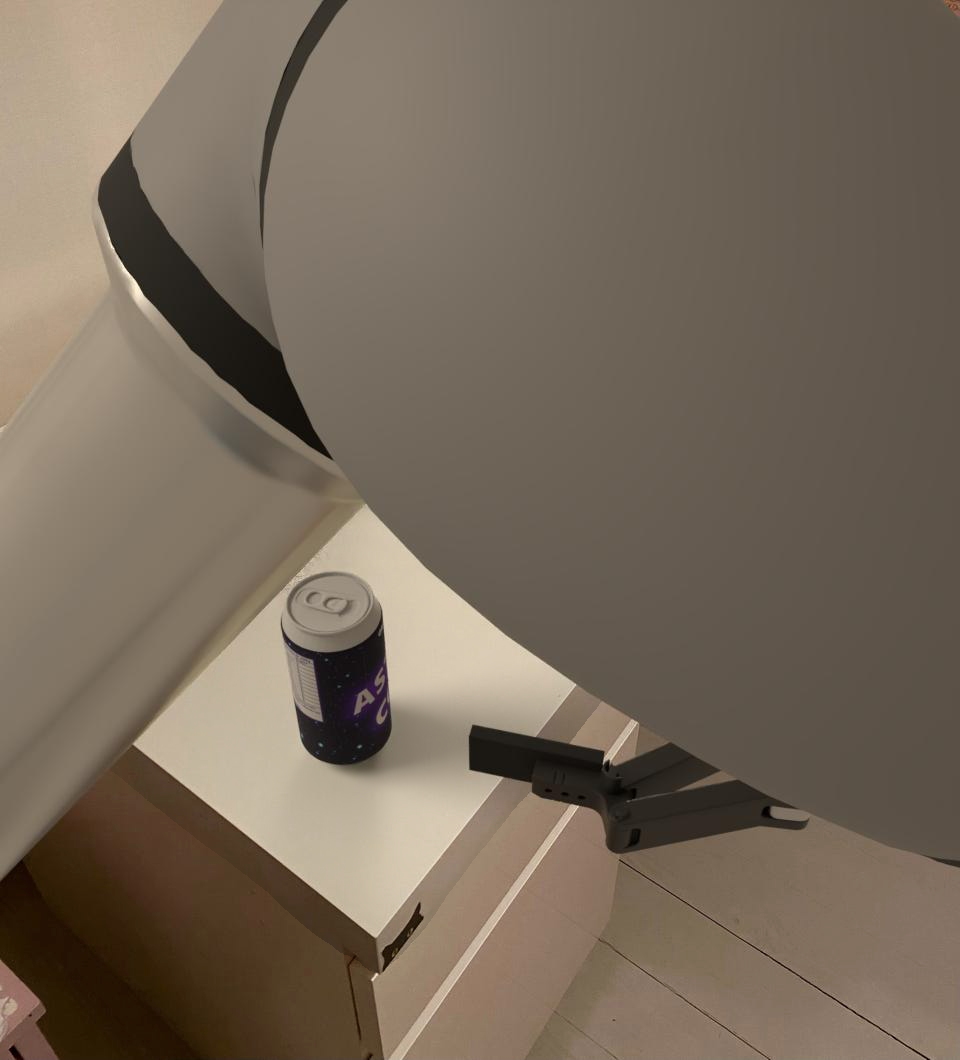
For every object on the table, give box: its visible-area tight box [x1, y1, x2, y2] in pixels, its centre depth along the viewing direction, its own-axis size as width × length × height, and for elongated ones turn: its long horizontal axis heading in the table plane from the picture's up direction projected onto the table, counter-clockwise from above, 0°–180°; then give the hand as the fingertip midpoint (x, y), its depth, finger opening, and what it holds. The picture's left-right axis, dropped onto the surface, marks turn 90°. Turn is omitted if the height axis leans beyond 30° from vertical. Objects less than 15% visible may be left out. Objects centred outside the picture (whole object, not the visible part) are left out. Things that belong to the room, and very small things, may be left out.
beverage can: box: [280, 570, 393, 766], centre depth 61 cm, size 6×6×12 cm
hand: (501, 647), depth 56 cm, fingers open, 13 cm apart
